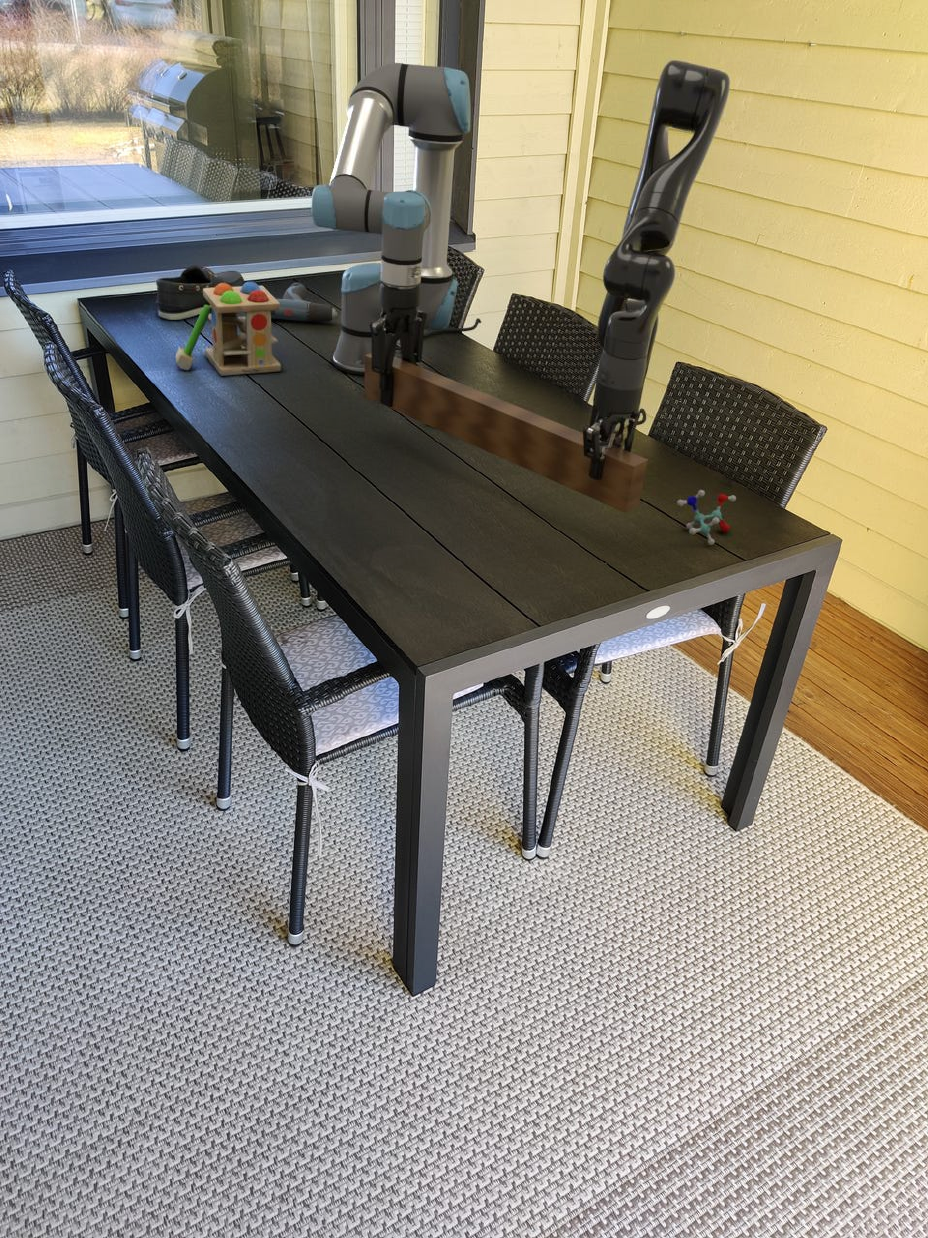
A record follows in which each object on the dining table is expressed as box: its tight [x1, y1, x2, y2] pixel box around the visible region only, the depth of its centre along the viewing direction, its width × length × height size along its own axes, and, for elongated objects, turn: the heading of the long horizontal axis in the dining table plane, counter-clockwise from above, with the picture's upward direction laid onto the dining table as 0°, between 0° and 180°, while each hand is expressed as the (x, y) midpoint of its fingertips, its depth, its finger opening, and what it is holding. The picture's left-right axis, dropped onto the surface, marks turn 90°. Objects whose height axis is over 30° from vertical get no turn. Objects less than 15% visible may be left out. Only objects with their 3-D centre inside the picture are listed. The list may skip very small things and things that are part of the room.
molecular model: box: [676, 489, 737, 546], centre depth 179 cm, size 12×10×10 cm
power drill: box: [271, 282, 338, 322], centre depth 265 cm, size 5×19×20 cm
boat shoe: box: [155, 264, 246, 321], centre depth 263 cm, size 13×33×10 cm, turn 147°
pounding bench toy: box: [174, 281, 282, 377], centre depth 225 cm, size 23×14×18 cm, turn 116°
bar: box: [363, 353, 649, 514], centre depth 181 cm, size 64×4×9 cm, turn 49°
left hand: (395, 401), depth 196 cm, fingers closed on bar, 4 cm apart
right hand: (603, 473), depth 168 cm, fingers closed on bar, 4 cm apart
